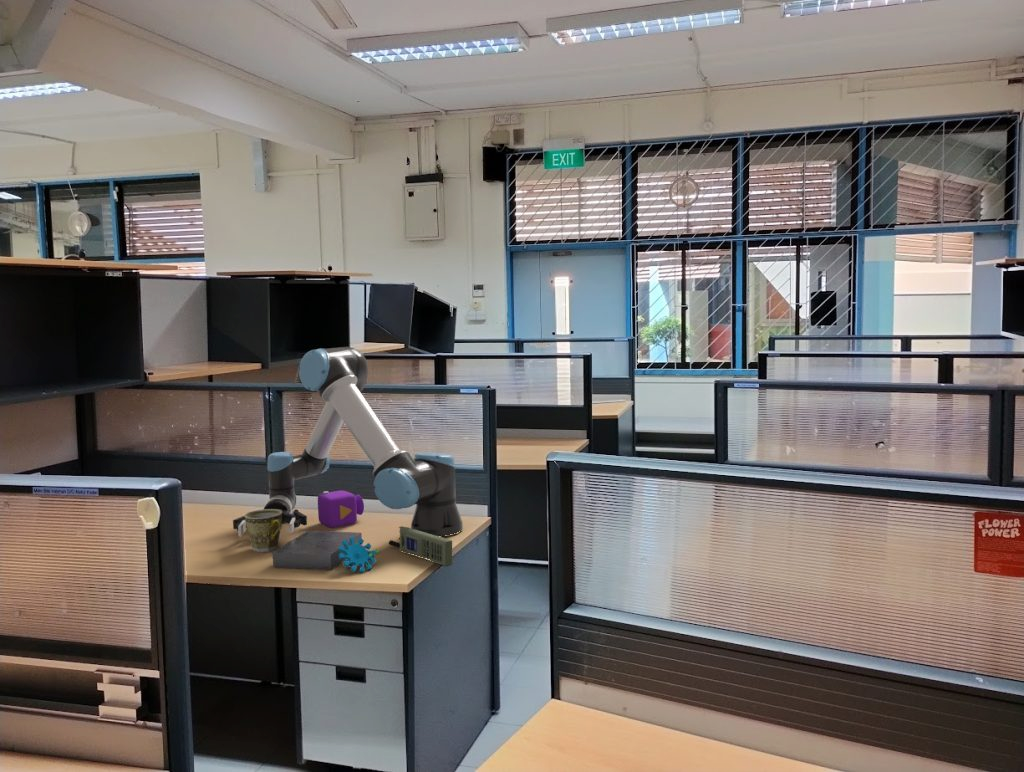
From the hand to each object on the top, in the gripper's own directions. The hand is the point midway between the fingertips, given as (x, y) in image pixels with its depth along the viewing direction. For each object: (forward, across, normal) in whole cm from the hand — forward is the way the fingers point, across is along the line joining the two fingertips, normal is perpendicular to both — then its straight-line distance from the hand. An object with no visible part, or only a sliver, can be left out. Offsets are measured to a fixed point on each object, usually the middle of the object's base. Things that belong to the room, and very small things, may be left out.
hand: (265, 529), depth 219 cm
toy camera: (-26, -19, -6) cm, 32 cm away
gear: (+20, -26, -6) cm, 34 cm away
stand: (+8, -15, -6) cm, 18 cm away
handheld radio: (+13, -41, -6) cm, 44 cm away
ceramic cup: (-1, 0, -6) cm, 6 cm away
